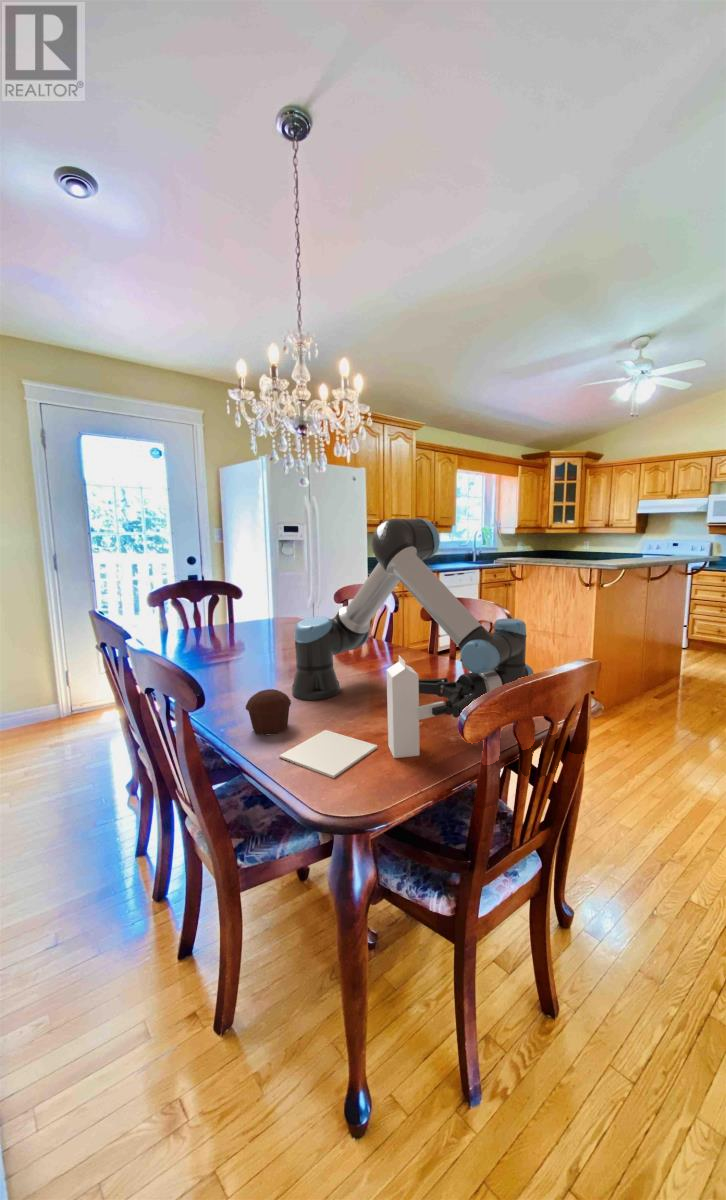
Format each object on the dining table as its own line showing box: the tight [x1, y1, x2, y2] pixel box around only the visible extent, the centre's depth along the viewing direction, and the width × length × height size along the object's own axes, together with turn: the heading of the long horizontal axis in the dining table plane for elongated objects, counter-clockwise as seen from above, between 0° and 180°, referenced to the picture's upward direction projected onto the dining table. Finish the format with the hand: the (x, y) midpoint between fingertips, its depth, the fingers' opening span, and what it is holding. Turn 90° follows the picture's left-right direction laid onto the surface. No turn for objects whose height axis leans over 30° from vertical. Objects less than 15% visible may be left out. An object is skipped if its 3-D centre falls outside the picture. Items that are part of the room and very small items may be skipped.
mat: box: [278, 729, 378, 779], centre depth 106 cm, size 16×16×1 cm
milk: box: [386, 655, 421, 759], centre depth 104 cm, size 6×6×22 cm
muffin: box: [245, 688, 292, 736], centre depth 120 cm, size 12×11×10 cm
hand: (401, 702), depth 103 cm, fingers open, 13 cm apart
